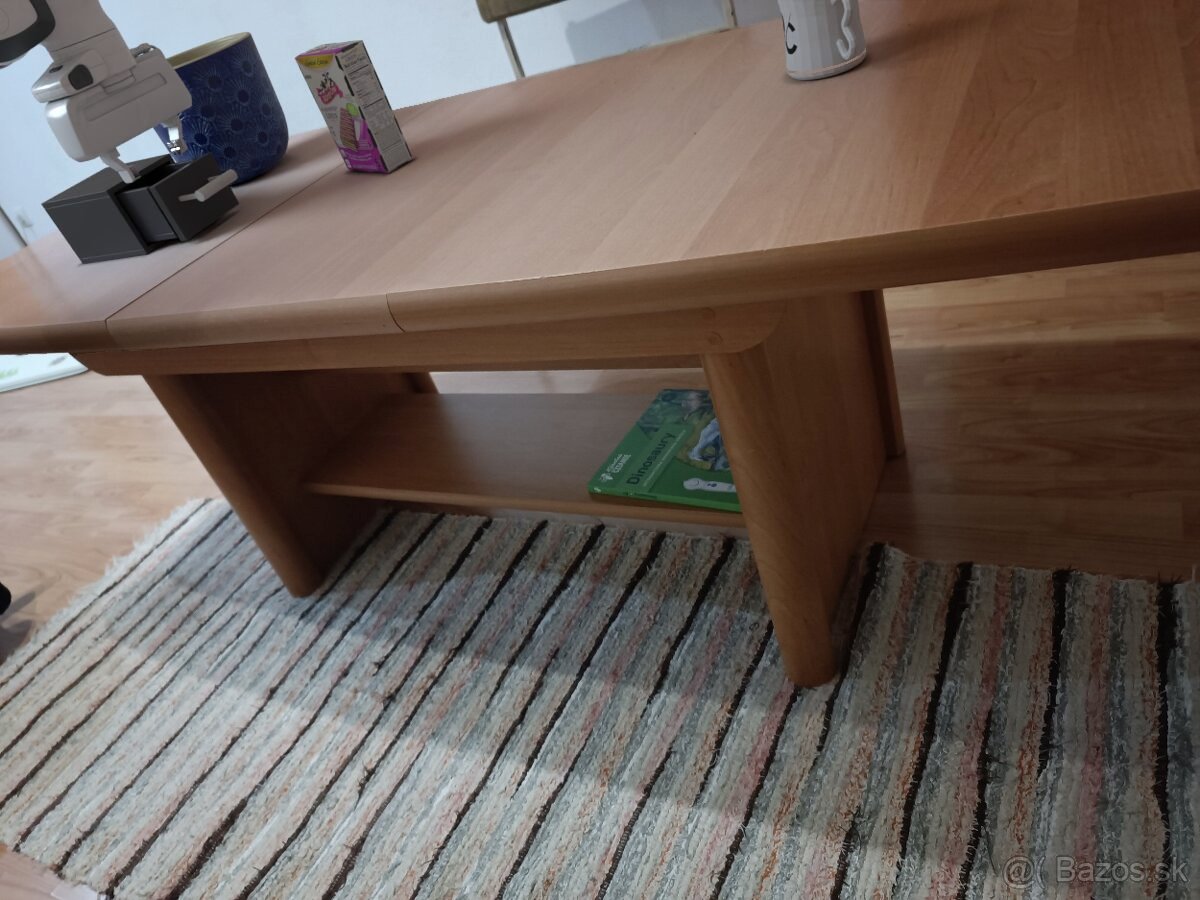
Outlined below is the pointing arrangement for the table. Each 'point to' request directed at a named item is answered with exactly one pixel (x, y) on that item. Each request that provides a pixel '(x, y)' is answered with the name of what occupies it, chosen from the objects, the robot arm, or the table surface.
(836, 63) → the mug
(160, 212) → the drawer
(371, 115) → the candy bar box
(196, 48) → the planter
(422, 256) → the table surface
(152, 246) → the cabinet
